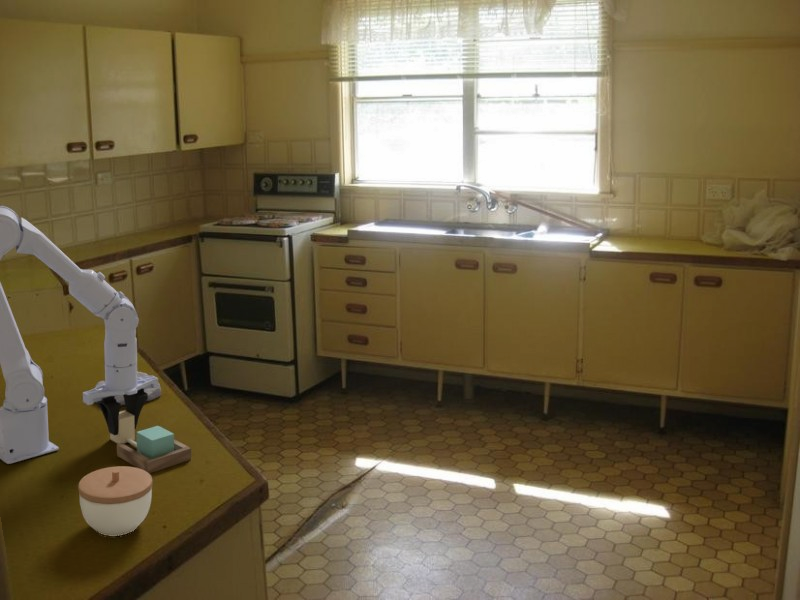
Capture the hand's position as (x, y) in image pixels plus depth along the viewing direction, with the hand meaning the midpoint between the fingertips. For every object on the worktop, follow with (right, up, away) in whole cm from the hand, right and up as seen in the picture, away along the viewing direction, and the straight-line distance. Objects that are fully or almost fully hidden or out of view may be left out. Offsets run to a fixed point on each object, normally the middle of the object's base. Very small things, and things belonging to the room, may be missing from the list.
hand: (122, 430), depth 164 cm
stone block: (-5, +3, +22) cm, 23 cm away
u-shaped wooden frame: (+7, -4, -6) cm, 10 cm away
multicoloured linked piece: (+4, -3, -3) cm, 6 cm away
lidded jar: (+9, -10, -30) cm, 33 cm away
